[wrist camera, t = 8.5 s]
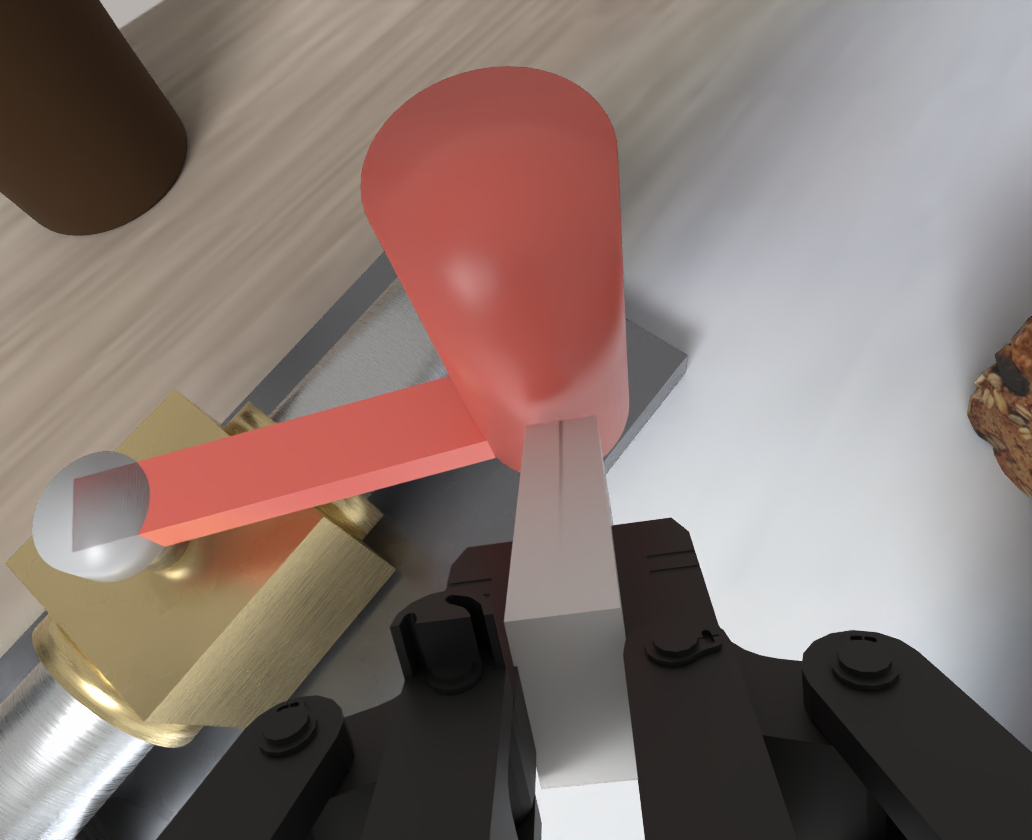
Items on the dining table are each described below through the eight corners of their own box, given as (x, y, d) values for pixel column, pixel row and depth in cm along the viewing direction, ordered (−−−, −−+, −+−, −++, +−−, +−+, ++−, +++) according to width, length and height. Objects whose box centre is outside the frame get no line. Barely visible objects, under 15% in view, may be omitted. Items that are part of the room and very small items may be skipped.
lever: (62, 611, 20) (-354, 511, 12) (66, 470, 22) (-294, 295, 13) (648, 455, 19) (650, 229, 11) (605, 322, 21) (579, 38, 12)
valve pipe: (66, 1163, 24) (-314, 1433, 15) (-137, 839, 29) (-519, 883, 20) (685, 372, 32) (703, 207, 22) (438, 222, 37) (365, 35, 27)
